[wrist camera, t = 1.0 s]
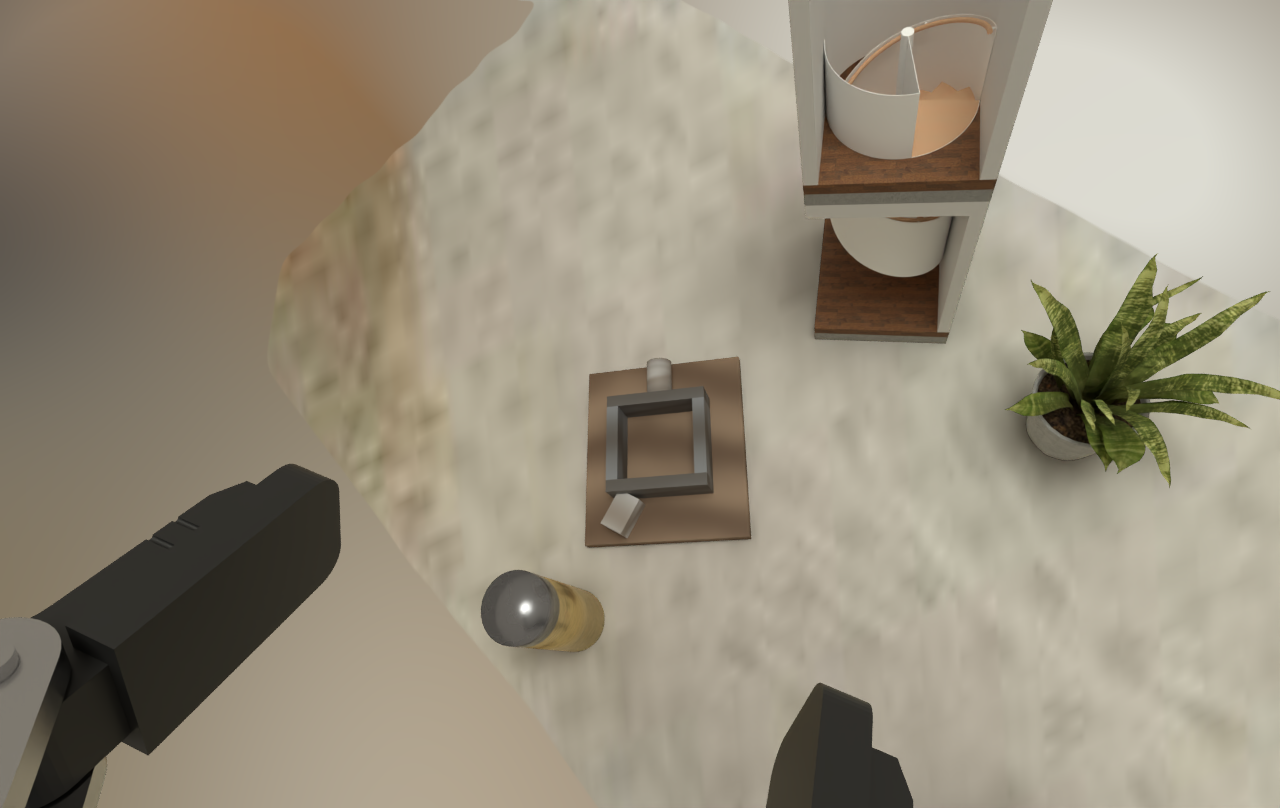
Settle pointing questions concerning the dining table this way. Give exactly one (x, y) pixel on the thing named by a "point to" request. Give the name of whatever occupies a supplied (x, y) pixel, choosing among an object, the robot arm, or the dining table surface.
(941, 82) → the white tall stand
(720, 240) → the dining table surface
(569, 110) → the dining table surface
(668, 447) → the socket base
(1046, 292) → the house plant
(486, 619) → the capped cylinder
